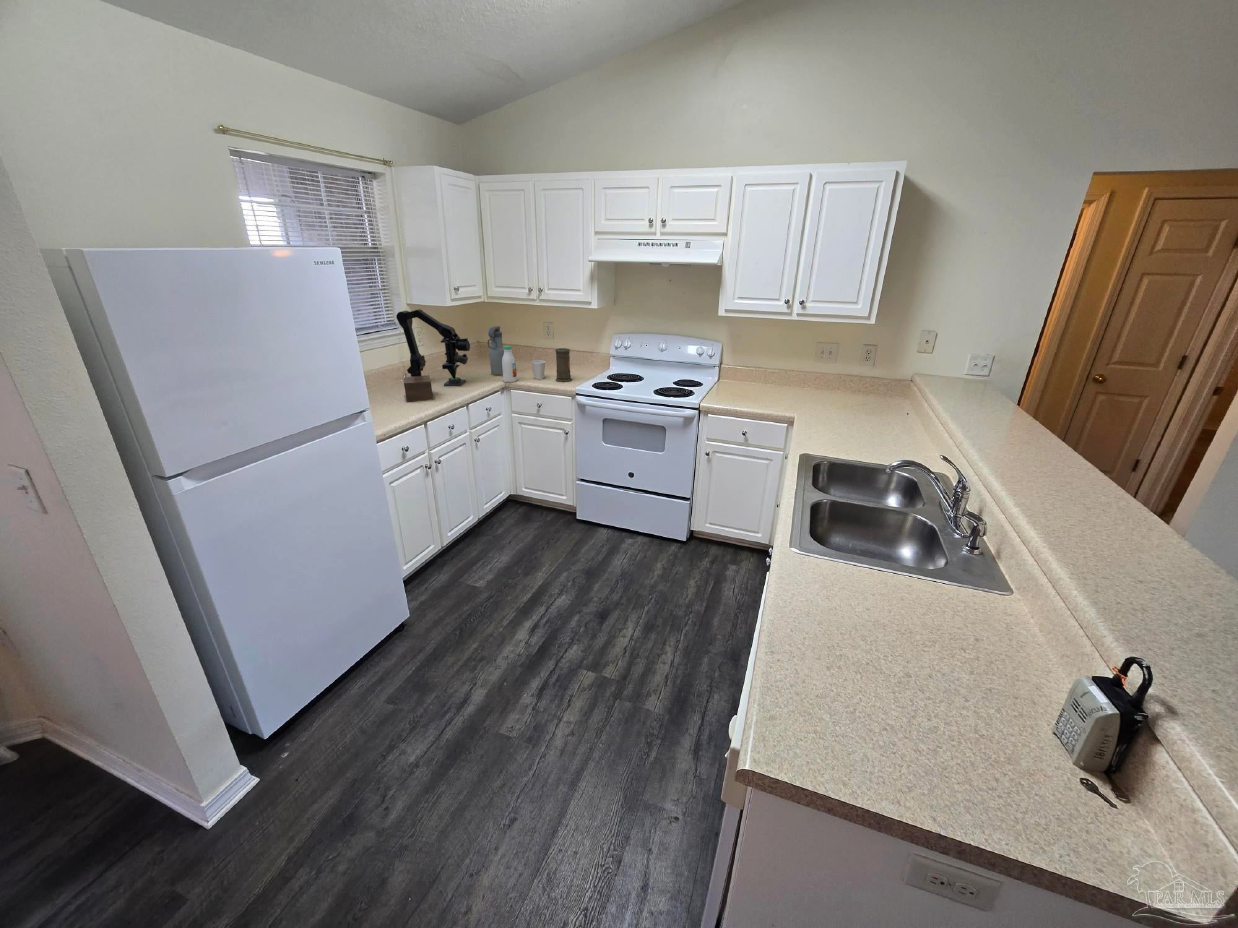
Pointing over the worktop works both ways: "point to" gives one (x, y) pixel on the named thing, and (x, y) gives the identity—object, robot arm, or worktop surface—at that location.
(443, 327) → the robot arm
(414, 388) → the brown block
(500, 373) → the water bottle
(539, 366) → the dixie cup
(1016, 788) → the worktop surface
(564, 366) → the container
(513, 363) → the milk bottle
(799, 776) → the worktop surface
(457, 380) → the control block
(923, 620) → the worktop surface
